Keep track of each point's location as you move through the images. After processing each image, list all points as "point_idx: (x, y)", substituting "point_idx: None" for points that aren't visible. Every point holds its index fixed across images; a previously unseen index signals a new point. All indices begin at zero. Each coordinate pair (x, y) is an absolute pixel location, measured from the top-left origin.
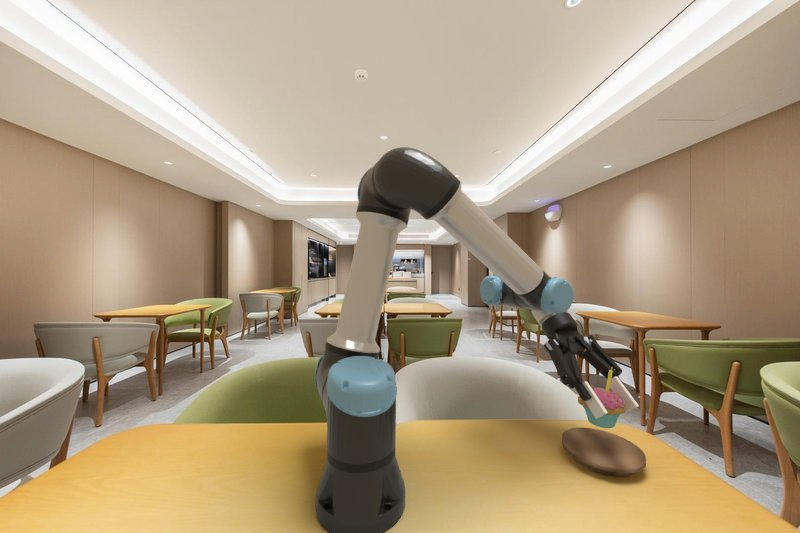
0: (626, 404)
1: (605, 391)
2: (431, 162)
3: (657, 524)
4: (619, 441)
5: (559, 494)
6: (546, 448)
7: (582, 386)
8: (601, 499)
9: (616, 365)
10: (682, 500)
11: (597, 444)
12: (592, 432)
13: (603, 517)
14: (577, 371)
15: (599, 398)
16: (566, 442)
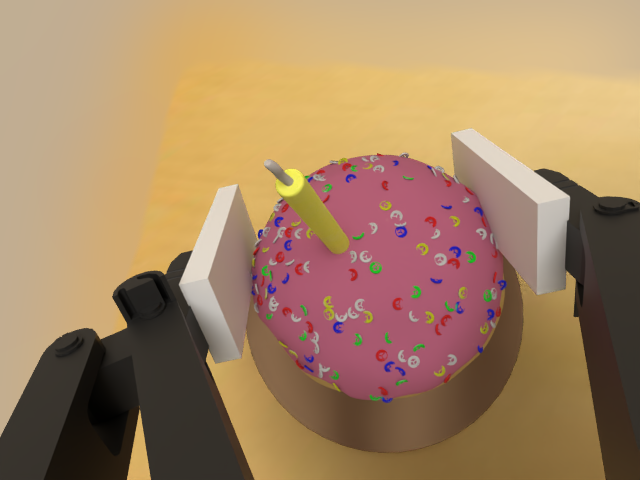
0: (248, 238)
1: (361, 232)
2: None
3: (430, 74)
4: None
5: (622, 174)
6: (543, 406)
7: (576, 202)
8: (508, 149)
9: (47, 380)
10: (299, 132)
11: None
12: (340, 398)
13: (546, 97)
14: (631, 250)
15: (444, 193)
16: (507, 339)
